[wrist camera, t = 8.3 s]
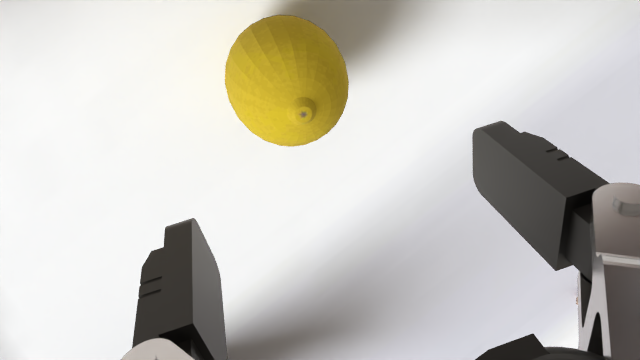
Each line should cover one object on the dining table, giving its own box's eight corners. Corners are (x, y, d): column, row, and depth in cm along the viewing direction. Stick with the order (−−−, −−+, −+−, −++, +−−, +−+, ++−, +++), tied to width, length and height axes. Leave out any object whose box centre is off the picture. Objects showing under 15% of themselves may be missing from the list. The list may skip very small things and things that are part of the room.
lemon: (324, -2, 23) (377, 40, 17) (322, 99, 26) (365, 169, 20) (215, 1, 22) (225, 47, 15) (225, 106, 25) (237, 183, 18)
